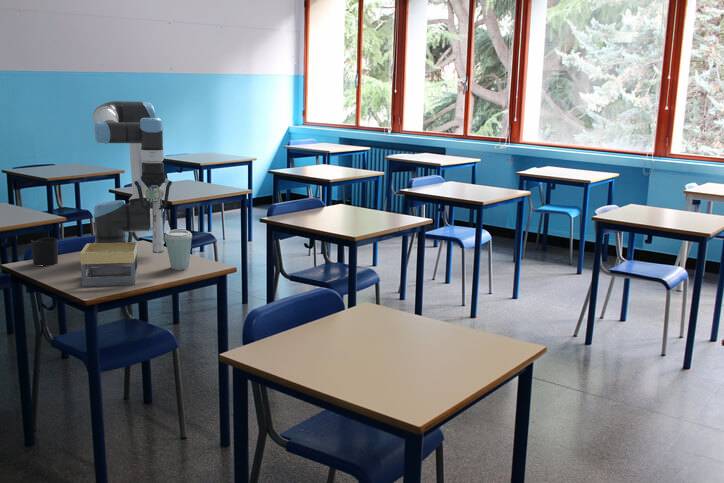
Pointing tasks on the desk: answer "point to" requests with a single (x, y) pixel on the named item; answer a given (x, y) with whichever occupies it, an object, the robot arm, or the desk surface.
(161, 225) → the toothbrush head
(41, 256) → the pen holder
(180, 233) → the disposable coffee cup
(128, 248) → the collar stand
